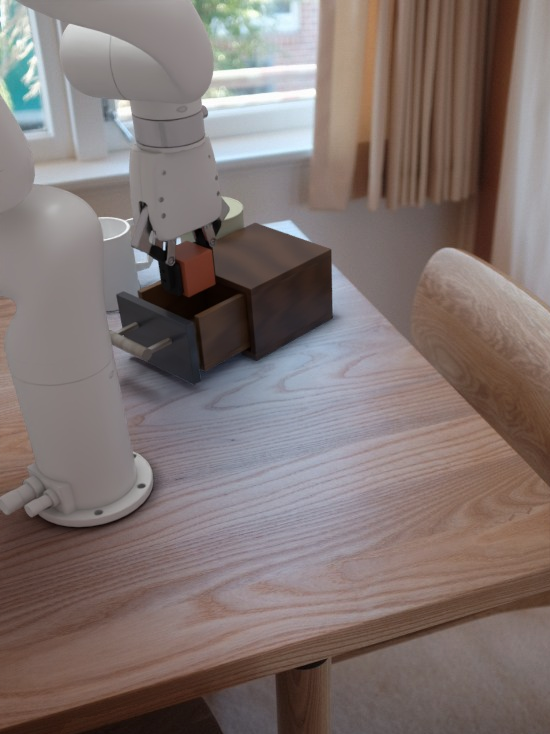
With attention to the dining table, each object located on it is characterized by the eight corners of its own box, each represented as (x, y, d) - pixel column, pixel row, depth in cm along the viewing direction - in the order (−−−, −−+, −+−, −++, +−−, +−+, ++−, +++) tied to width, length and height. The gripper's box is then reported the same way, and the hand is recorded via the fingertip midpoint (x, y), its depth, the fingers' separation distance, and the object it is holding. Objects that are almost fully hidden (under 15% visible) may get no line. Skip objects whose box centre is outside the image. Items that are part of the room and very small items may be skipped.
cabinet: (256, 361, 114) (250, 289, 108) (182, 327, 121) (173, 258, 115) (332, 317, 123) (331, 248, 117) (260, 288, 130) (255, 222, 124)
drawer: (164, 402, 106) (154, 342, 100) (96, 366, 112) (83, 308, 107) (272, 341, 116) (268, 284, 111) (205, 312, 123) (198, 257, 117)
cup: (174, 290, 130) (165, 221, 123) (101, 317, 124) (87, 247, 117) (143, 271, 135) (133, 205, 128) (71, 296, 128) (56, 228, 122)
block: (188, 297, 107) (184, 262, 105) (164, 286, 110) (158, 252, 107) (215, 284, 110) (212, 249, 107) (191, 274, 112) (186, 240, 109)
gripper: (202, 103, 105) (218, 252, 116) (84, 141, 95) (114, 300, 107) (249, 115, 101) (260, 269, 113) (130, 156, 91) (156, 320, 103)
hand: (189, 282), depth 110 cm, fingers closed on block, 4 cm apart
